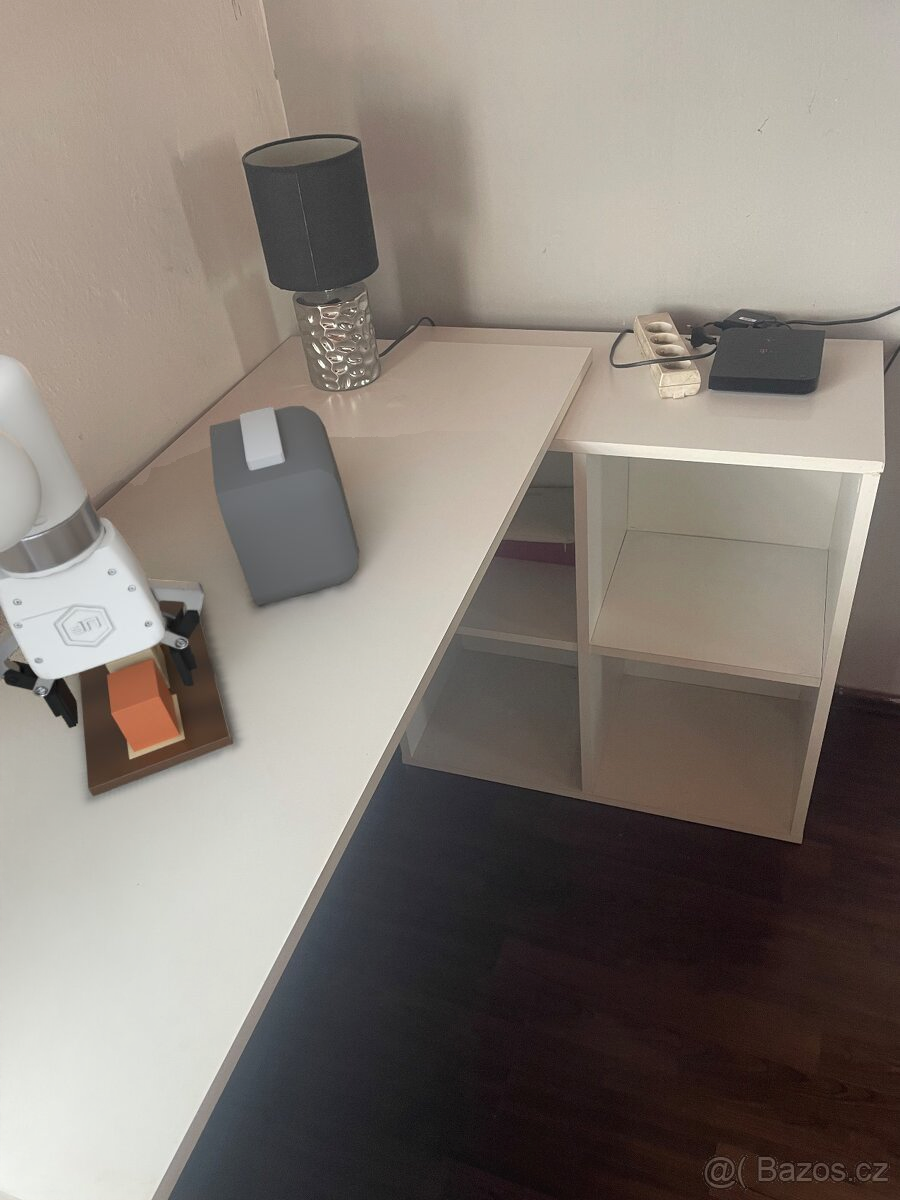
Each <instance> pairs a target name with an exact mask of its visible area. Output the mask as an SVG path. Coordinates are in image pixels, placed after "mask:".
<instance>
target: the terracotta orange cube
mask: <svg viewBox="0 0 900 1200" xmlns="http://www.w3.org/2000/svg"><path fill="white" fill-rule="evenodd" d="M107 680H108V689H109V698H110V706H111V714H112V716H113V718H114V719H115V721H116V723H117V724H118V726H119V728H120V729H121V731H122V733H123V734H124V736H125V738H126V740H127V741H128V743H129V745H130V746H131V748H132V750H133V751H134V752H136V751H139V750H141V749H144V748H147V747H150V746H152V745H155V744H158V743H160V742H163V741H166V740H168V739H171V738H174V737H176V736H179V735H180V733H179V728H178V723H177V718H176V713H175V707H174V702H173V697H172V695H171V693H170V691H169V689H168V687H167V685H166V683H165V682H164V680H163V678H162V676H161V674H160V672H159V670H158V668H157V666H156V664H155V662H154V660H153V659H151V660H148V661H145V662H142V663H139V664H136V665H134V666H131V667H128V668H125V669H122V670H119V671H117V672H114V673H111V674H108V675H107Z"/></svg>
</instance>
